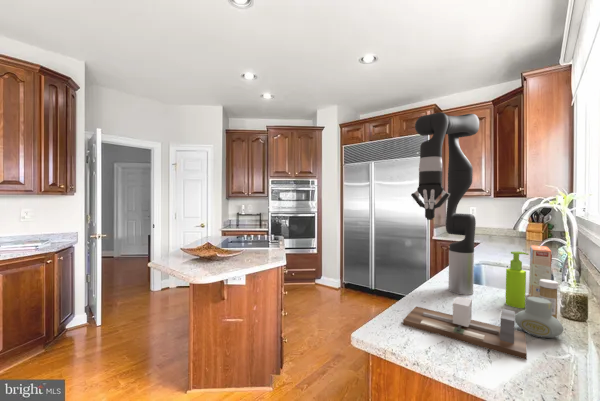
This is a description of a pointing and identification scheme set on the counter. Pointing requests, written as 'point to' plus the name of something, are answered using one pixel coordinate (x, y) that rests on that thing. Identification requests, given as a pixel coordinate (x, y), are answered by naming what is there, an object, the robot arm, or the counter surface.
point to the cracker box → (539, 268)
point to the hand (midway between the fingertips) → (429, 219)
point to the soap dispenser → (516, 282)
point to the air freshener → (539, 319)
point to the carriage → (462, 312)
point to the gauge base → (473, 330)
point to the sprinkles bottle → (549, 293)
